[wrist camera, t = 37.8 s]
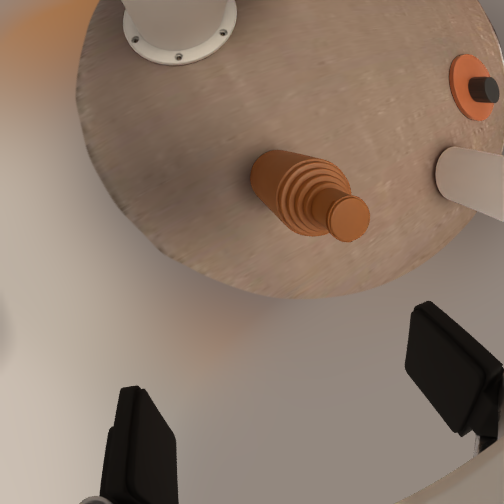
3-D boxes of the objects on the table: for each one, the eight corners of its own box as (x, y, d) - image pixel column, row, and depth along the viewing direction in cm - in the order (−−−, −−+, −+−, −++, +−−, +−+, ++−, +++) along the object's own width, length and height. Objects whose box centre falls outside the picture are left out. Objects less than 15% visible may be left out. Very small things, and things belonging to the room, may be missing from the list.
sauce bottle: (248, 151, 34) (301, 170, 17) (303, 148, 35) (395, 168, 18) (251, 206, 37) (302, 274, 20) (304, 201, 37) (388, 261, 20)
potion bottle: (445, 209, 42) (534, 251, 25) (423, 168, 39) (524, 198, 22) (473, 176, 41) (560, 206, 24) (453, 134, 37) (550, 152, 21)
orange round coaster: (446, 46, 32) (450, 45, 31) (488, 65, 34) (492, 65, 33) (450, 114, 36) (454, 114, 35) (490, 125, 38) (494, 126, 37)
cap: (480, 107, 35) (496, 108, 32) (465, 92, 34) (482, 92, 31) (485, 87, 34) (501, 87, 31) (470, 72, 33) (487, 71, 30)
